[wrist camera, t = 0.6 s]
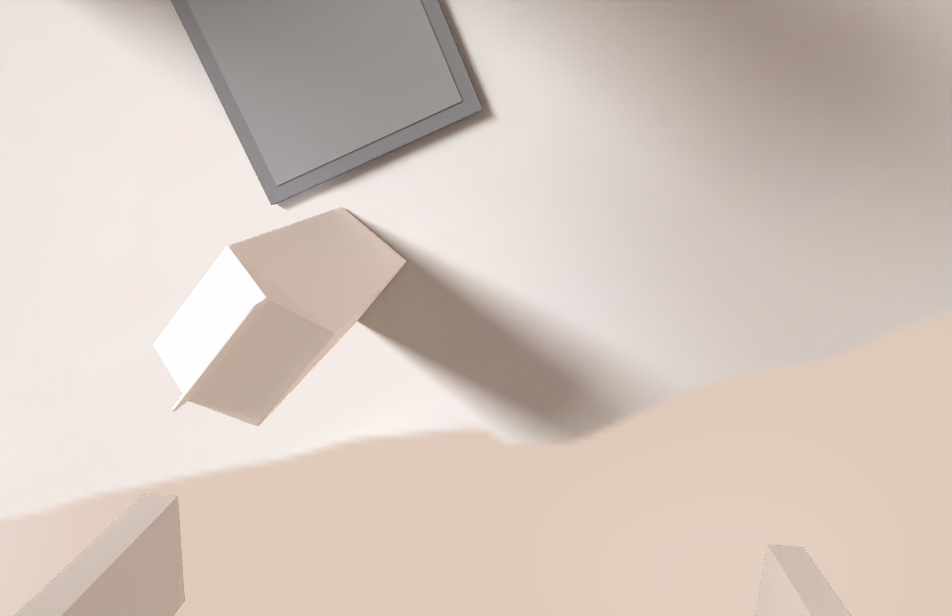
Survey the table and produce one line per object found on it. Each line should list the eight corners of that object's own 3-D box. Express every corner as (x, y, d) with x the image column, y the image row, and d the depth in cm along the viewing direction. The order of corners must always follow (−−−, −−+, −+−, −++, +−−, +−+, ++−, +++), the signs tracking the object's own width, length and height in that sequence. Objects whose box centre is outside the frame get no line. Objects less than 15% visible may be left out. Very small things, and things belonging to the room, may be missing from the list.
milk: (407, 260, 47) (318, 356, 26) (356, 322, 48) (231, 461, 27) (340, 204, 46) (192, 255, 25) (290, 268, 48) (108, 368, 26)
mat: (165, -21, 44) (158, -25, 43) (382, -136, 41) (378, -142, 40) (275, 203, 47) (270, 205, 46) (483, 109, 44) (482, 109, 43)
